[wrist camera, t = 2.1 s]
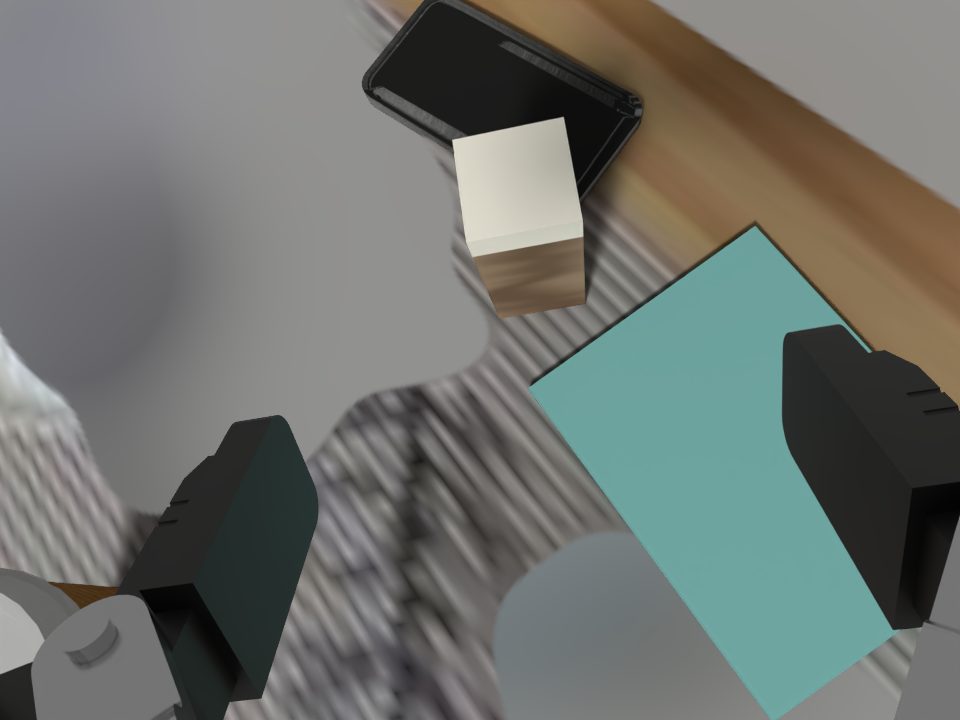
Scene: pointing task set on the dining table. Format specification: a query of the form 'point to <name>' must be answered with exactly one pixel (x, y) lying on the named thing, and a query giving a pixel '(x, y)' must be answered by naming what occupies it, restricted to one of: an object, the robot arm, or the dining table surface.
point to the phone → (496, 87)
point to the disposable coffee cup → (36, 612)
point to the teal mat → (722, 468)
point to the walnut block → (523, 216)
